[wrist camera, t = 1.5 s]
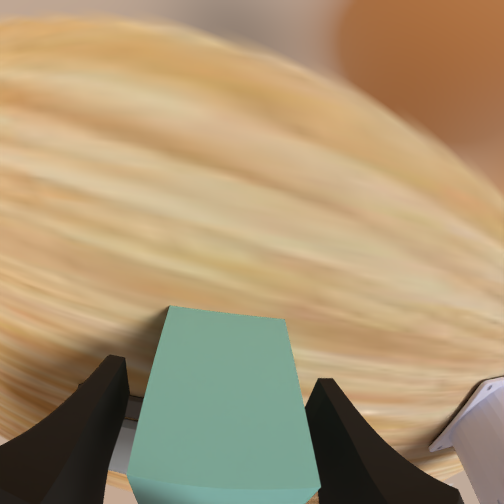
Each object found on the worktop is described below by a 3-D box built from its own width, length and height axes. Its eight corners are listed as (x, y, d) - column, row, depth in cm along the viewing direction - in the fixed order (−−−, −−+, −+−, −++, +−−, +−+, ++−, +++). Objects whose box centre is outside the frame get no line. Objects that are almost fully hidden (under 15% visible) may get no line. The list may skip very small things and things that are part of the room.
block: (284, 319, 12) (321, 486, 6) (263, 392, 14) (277, 530, 7) (169, 305, 12) (126, 475, 5) (168, 382, 13) (146, 521, 7)
